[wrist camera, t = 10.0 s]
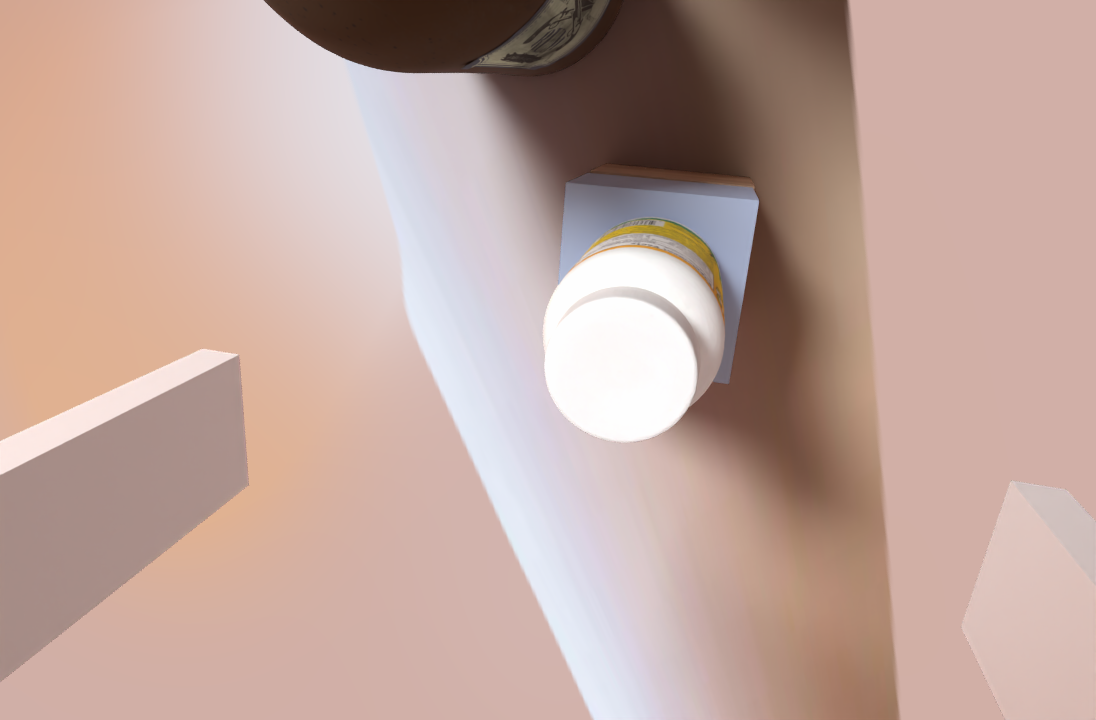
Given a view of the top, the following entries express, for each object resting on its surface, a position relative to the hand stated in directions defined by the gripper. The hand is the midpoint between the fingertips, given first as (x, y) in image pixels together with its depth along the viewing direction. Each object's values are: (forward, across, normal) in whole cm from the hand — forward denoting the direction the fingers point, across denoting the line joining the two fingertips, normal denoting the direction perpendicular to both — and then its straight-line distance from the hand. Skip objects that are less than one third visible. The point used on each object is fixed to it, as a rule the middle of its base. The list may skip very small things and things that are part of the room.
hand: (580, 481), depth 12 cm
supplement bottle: (+16, 0, 0) cm, 16 cm away
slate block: (+21, 0, 0) cm, 21 cm away
